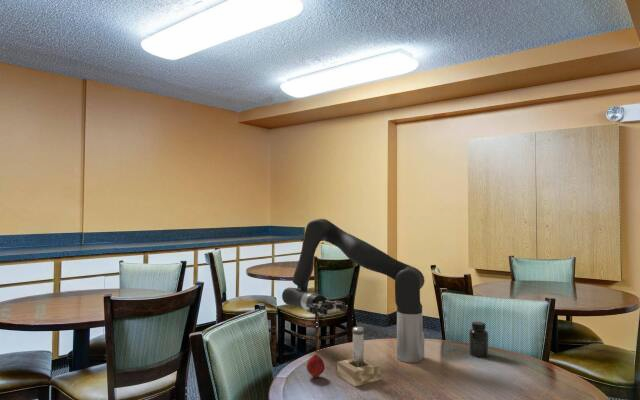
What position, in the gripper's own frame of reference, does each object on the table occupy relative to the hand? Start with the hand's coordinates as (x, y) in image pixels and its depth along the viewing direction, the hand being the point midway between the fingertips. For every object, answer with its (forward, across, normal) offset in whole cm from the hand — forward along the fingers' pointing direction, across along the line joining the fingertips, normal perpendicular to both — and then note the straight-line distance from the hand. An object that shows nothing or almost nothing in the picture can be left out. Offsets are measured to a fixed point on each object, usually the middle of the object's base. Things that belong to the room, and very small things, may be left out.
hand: (336, 310), depth 151 cm
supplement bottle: (+22, +50, +20) cm, 58 cm away
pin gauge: (+16, -2, +18) cm, 24 cm away
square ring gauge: (+16, -2, +18) cm, 25 cm away
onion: (+9, -14, +18) cm, 25 cm away
